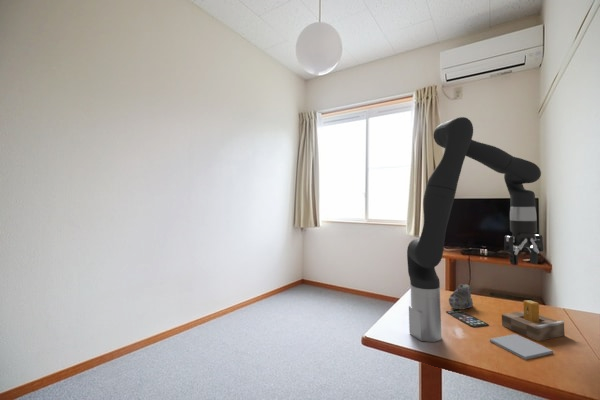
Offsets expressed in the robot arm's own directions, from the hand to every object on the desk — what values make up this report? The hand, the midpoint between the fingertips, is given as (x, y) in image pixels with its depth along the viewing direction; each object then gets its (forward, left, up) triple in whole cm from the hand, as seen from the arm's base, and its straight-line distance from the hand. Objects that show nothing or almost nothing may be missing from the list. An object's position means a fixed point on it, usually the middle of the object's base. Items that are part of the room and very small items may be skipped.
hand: (524, 264), depth 99 cm
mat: (-16, -10, -23) cm, 29 cm away
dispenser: (-1, -3, -23) cm, 23 cm away
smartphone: (-14, +12, -23) cm, 30 cm away
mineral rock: (-7, +23, -23) cm, 33 cm away
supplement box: (-1, -3, -23) cm, 23 cm away
